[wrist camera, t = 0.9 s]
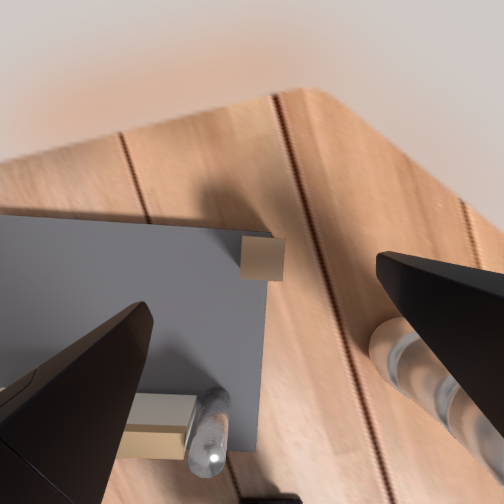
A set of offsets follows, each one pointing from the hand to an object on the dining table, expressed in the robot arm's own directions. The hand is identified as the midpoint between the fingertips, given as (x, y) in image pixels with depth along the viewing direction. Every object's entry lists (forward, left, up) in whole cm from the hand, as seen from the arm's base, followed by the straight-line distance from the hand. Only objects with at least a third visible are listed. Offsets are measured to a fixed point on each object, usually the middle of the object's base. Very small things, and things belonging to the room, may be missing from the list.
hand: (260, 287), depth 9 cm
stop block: (0, -1, -13) cm, 13 cm away
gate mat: (-8, +10, -13) cm, 19 cm away
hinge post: (-14, +2, -13) cm, 19 cm away
